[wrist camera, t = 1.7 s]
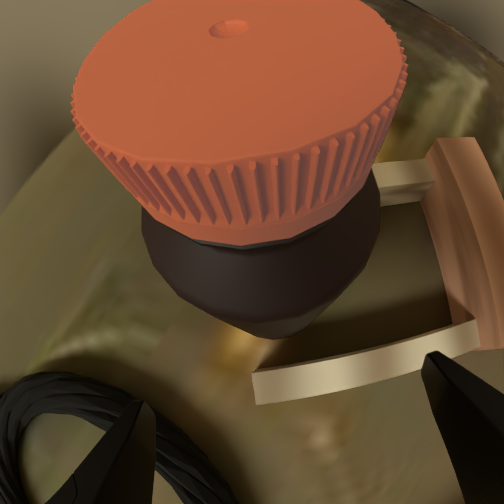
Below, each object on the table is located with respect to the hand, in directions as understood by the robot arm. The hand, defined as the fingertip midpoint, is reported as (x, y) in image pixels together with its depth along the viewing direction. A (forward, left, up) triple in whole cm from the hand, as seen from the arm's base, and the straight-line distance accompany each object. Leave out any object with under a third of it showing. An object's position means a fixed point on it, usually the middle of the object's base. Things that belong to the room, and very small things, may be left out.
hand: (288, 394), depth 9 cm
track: (-2, -9, -13) cm, 16 cm away
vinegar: (+4, -4, -13) cm, 14 cm away
